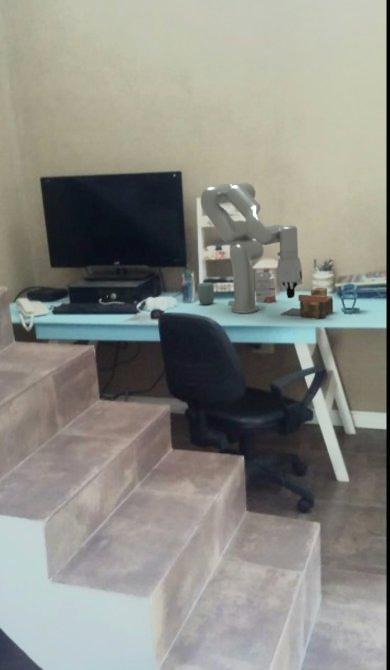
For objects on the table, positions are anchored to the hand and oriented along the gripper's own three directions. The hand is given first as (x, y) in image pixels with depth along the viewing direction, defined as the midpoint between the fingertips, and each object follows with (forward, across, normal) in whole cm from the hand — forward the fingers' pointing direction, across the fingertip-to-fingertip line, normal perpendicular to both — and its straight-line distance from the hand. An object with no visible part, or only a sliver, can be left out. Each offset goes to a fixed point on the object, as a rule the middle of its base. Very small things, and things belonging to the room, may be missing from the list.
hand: (290, 297), depth 278 cm
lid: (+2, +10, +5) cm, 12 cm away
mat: (+8, -1, +6) cm, 10 cm away
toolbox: (+8, +10, +5) cm, 14 cm away
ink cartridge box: (+8, -25, +23) cm, 35 cm away
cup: (+8, -51, +10) cm, 53 cm away
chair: (+9, +21, +14) cm, 27 cm away
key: (+1, +10, 0) cm, 10 cm away
